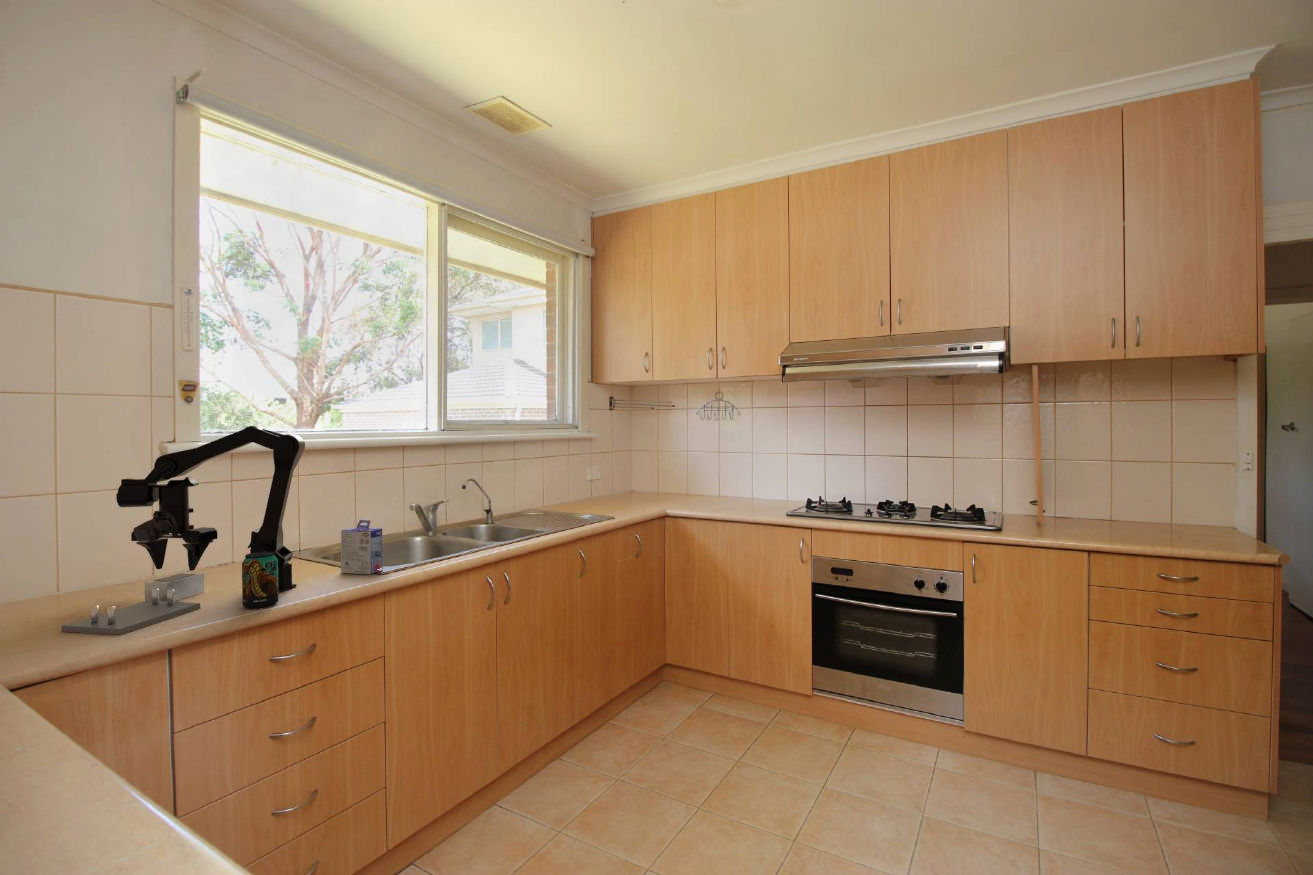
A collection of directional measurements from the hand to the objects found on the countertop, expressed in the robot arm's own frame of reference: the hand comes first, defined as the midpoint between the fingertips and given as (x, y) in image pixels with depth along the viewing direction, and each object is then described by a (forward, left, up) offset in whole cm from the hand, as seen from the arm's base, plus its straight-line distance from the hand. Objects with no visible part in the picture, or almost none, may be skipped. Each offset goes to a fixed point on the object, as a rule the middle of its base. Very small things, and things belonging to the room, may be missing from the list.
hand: (175, 569), depth 150 cm
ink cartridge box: (-29, -30, -7) cm, 42 cm away
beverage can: (-26, +3, -7) cm, 27 cm away
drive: (0, 0, -7) cm, 7 cm away
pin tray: (-7, +16, -7) cm, 19 cm away
